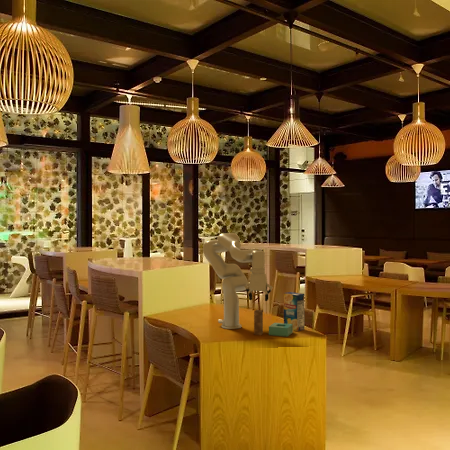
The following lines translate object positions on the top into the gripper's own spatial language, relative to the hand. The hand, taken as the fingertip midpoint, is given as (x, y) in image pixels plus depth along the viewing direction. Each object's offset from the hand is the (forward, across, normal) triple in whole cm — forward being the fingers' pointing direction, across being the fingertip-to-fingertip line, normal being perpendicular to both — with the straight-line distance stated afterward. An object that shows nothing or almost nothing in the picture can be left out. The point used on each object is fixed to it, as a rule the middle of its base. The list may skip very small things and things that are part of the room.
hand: (258, 300), depth 307 cm
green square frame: (+20, +12, +6) cm, 24 cm away
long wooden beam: (+20, 0, 0) cm, 20 cm away
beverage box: (+20, +16, +21) cm, 33 cm away
